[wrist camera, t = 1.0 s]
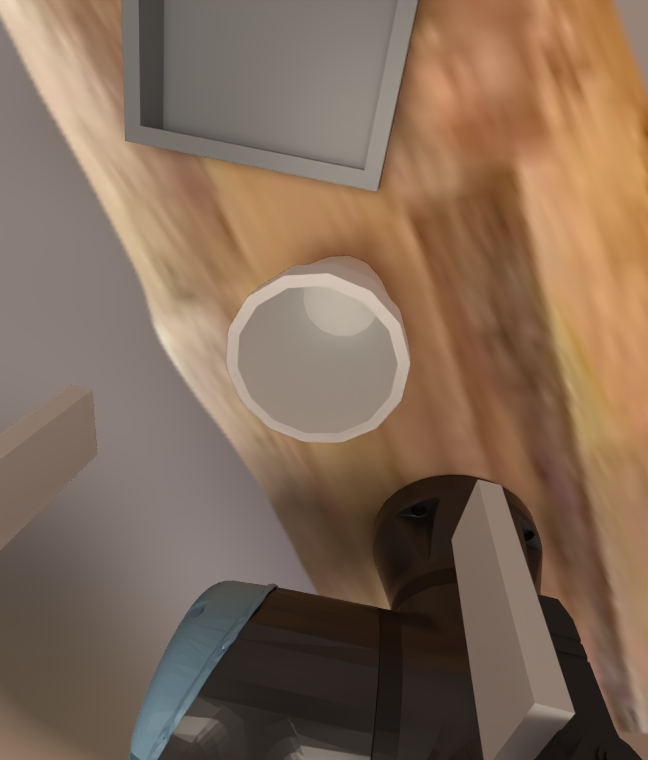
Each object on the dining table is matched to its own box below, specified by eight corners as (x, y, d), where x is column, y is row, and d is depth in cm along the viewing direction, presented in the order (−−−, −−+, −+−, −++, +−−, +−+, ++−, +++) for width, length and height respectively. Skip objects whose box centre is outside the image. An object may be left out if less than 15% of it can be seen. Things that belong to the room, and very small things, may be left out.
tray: (379, 188, 30) (377, 191, 27) (156, 143, 31) (125, 140, 28) (449, -141, 23) (459, -197, 19) (156, -189, 24) (113, -251, 20)
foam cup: (267, 325, 36) (206, 402, 24) (305, 213, 32) (253, 241, 20) (374, 370, 36) (365, 466, 25) (426, 264, 32) (444, 321, 21)
